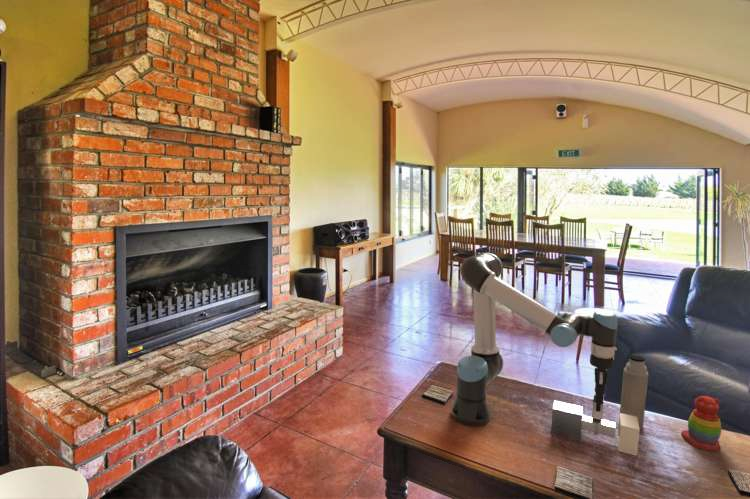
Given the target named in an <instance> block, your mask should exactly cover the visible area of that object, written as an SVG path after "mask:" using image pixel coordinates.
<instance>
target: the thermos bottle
mask: <svg viewBox="0 0 750 499" xmlns="http://www.w3.org/2000/svg"><path fill="white" fill-rule="evenodd" d="M645 360H646V358H645V357H644V356H642V355H638V354H637V355H636V354H631V355H629V361H628V362H626V365H625V367H624V368H623V372H622V373H623V376H622V383H621V384H622V387H621V396H620V405H619V414H620V413H622V414H627V415H632V416H636V417H637V418H638V424H639V429H640V431H639V432H641V431H642V430H643V429H644V422H645V411H646V398H647V393H648V392H647V391H648V384H649V383H648V382H649V372H648V368H647V366H646V365H645Z"/></svg>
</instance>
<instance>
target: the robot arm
mask: <svg viewBox="0 0 750 499" xmlns="http://www.w3.org/2000/svg"><path fill="white" fill-rule="evenodd" d="M502 272H503V262H502V260H501V259H500V258H499V257H498V256H497V255H496V254H494V253H491V252H481V253H478V254H476V255H472V256H469V257H467V258H466V259H465V260H464V261H463V262H462V263H461V266H460V276H461V279H462V280H463V282H464V283H465V284H467V286H468V287H470V288H471V289H473V315H474V318H473V320H474V321H473V322H474V323H473V324H474V326H473V328H474V344H473V345H472V346H471V347H470V353H471V354H470V355H468V356H464V357H462V358H460V359H459V360H458V362H457V367H456V394H455V395H456V397H455V399H454V402H453V404H452V406H451V416H452V418H453V420H455V421H456V422H457V423H459V424H461V425H465V426H468V427H480V426H484V425H486V424H488V422H490V418H491V412H490V408H489V404H488V401H487V386H488V385H489V384H490V383H491V382H492V381H493V380H494V379H495V378H496V377H498V376H499V375H500V374H501V372H502V370H503V367H504V358H503V356H502V354H501V353H500V347H498V346H497V345H496V344H497V342H496V302H497V303H499V304H500V305H503V307H504V308H507V309H508V310H509V311H512V312H513V313H514V314H516V315H517V316H519V317H521V318H522V319H524V320H525V321H527V322H528V323H529V324H532V325H533V326H534V327H536V328H538V329H539V330H540V331H542V332H543V333H545V334H547V335H548V336H550V339H551V342H553V344H554V345H556V346H558V347H560V348H567V347H569V346H571V345H572V344H574V343H575V342H576V341H577V339H578V338H579V336H584V337H588V338H589V337H590V338H591V341H590V342H591V344H590V355H589V363H590V365H591V366H593V367H594V383H595V385H594V386H595V387H594V391H595V392H596V393H595V400H594V398H593V399H592V402H594V410H593V409H592V413H593V418H595V419H600V420H601V419H602V420H603V411H602V407H604V399H603V397H604V398H605V397H606V394H605V386H606V384H607V378H608V370H611V369H613V368H614V364H615V354H616V352H615V351H617V350H618V348H617V347H616V341H617V334H618V316H617V315H616V314H615V313H614V312H611V311H608V310H596V311H594V312H593V315H588V314H582V313H576V312H571V311H561V310H560V311H559V312H558V313H555V312H553V311H552V310H550V309H549V308H547V307H545V305H543V304H541V303H539V302H538V301H536V300H534V299H532V298H531V297H530V296H527V295H526V294H524V293H523V292H521V291H520V290H518V289H516V288H515V287H513V286H511V285H510V284H508V283H507V282H505V281H503V280H502V279H500V276H501V275H502Z"/></svg>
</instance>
